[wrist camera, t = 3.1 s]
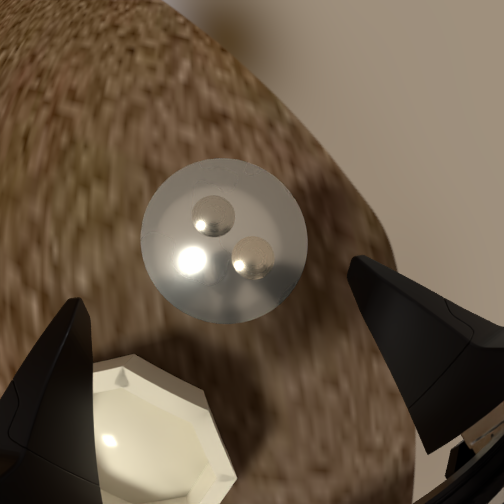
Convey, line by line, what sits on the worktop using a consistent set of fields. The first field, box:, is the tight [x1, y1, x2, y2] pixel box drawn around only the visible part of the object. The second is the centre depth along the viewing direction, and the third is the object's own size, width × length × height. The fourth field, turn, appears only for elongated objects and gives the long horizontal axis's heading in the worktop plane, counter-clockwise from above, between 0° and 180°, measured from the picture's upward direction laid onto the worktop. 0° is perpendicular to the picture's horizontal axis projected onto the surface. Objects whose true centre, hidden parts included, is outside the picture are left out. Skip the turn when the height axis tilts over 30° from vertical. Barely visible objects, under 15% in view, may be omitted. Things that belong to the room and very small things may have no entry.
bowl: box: [93, 354, 237, 504], centre depth 13 cm, size 11×11×4 cm
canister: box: [141, 158, 308, 324], centre depth 12 cm, size 4×4×10 cm
